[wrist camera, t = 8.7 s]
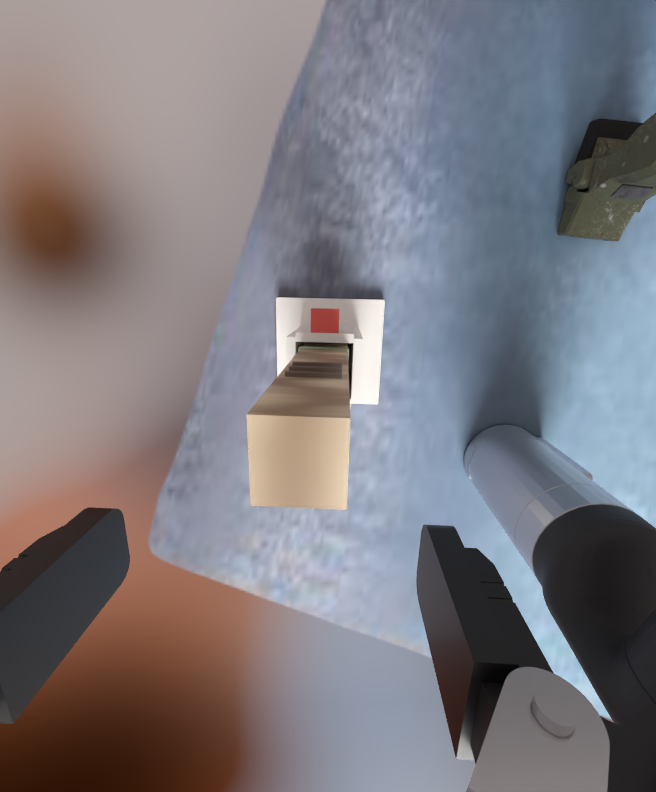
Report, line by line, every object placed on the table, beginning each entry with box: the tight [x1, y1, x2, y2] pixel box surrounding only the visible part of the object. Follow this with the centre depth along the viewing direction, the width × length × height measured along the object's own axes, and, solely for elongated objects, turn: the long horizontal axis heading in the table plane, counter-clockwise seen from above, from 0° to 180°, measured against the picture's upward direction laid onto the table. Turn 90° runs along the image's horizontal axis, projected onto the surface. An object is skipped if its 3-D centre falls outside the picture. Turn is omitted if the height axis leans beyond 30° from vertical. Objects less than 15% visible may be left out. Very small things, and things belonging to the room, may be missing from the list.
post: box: [247, 342, 350, 510], centre depth 24 cm, size 4×4×22 cm
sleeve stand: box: [276, 297, 385, 408], centre depth 37 cm, size 12×12×12 cm
